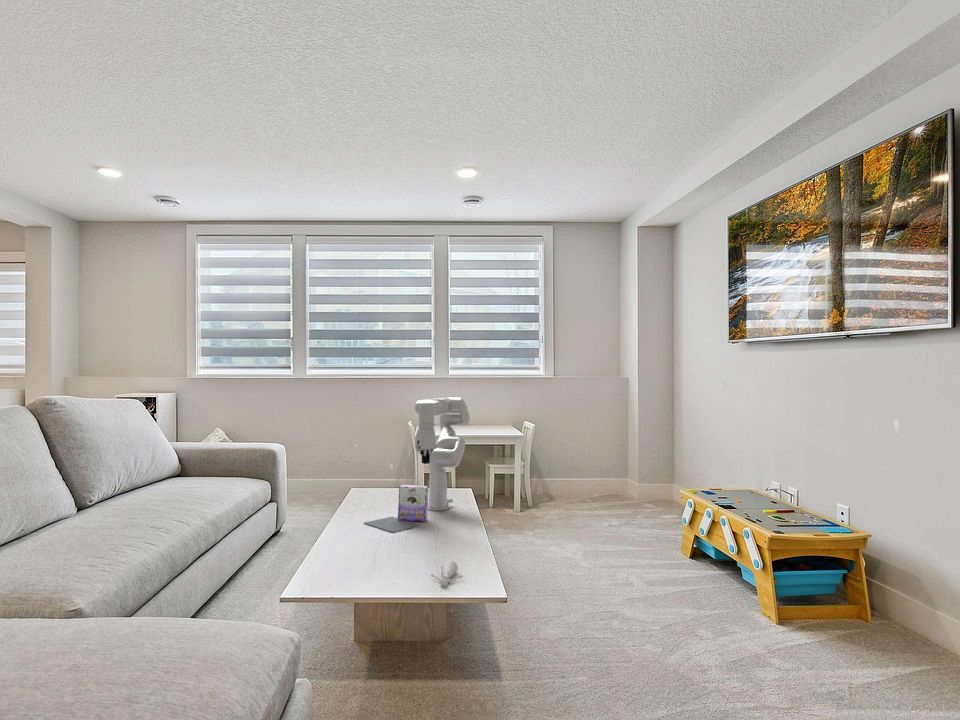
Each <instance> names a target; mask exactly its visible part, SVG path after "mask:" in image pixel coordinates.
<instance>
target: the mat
mask: <svg viewBox="0 0 960 720" xmlns="http://www.w3.org/2000/svg"><path fill="white" fill-rule="evenodd" d="M366 524H367V525H366ZM363 525H366V526H369V525H370V526H369V527H372V526H373V528H375V527H377V528H376V529H378V528H380V529H379V530H382V529H383V530H382V531H385V530H386V531H385V532H388V531H389V532H388V533H391V532H392V533H391V534H393V532H394V533H397V531H399V532H402V531H401V530H403V531H406V530H405V529H407V530H410V528H411V529H414V527H415V528H418V527H417V526H419V527H421V526H422V525H421V524H419V523H416V522H413V521H410V520H398V517H395V516H387V517H384V518H379V519H373V520H370V521H365V522H363Z"/></svg>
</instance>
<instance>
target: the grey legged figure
mask: <svg viewBox="0 0 960 720" xmlns="http://www.w3.org/2000/svg"><path fill="white" fill-rule="evenodd" d="M458 570H459V567H458V564H457V563H456V561H454V560H453V561H452V560H445V561H444V562H443V563H442V565H441V575H442V576H441V577H442V578H440V577H439V576H436V575H435V574H434V573H431V574H430V576H431V577H433V578H435V579H436V580H438V581H439V582H440V587H442V588H446V587H448V586H449V583H451V582H453V581H455V580H457V579H461V578H463V577H464V575H462V574H460V575H459V576H457V577H454V576H455V574H456V573H457V571H458ZM452 577H453V578H452Z"/></svg>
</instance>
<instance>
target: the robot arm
mask: <svg viewBox="0 0 960 720" xmlns="http://www.w3.org/2000/svg"><path fill="white" fill-rule="evenodd" d="M414 411H415V413H416V414H417V415H418V428H417V430H416V434H415V444H414V445H415V449H416V450H415V451H416V452H417V453H419V454H420V456H421V464H425V465H427V464H428V468H429V470H428V471H429V475H428V477H429V479H428V480H429V483H428V484H429V485H428V509H427V510H429V511H446V510H449V509H450V505H449V504H450V503H453V502H454V499H453V498H448V474H447V471H446V469H445V468H457V467H459V466H460V463H461V461H462V458H463V456H464V453H465V449H466V441H465V439H464V438H463V437H461V436H457V433H456V431H455V430H454V428H453V426H459V427H461V426H462V427H463V426H468V425H469V424H470V412H469V409H468V406H467V404H466V402H465V400H464V399H463V398H462V397H446V396H445V397H442V398H440V397H439V398H430V399H429V398H428V399H419V400H417V401H416V403H415V406H414ZM435 416H439V426H440V427H439V428H440V434H439V437H438V439H437V441H436V431H435Z"/></svg>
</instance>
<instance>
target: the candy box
mask: <svg viewBox="0 0 960 720" xmlns="http://www.w3.org/2000/svg"><path fill="white" fill-rule="evenodd" d="M428 504H429V485H417V484H415V485H414V484H401V485H399V487H398V507H397V518H398V520H406V521H409V522H413V521H414V522H426V521H427V520H428V510H429V509H428Z"/></svg>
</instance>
